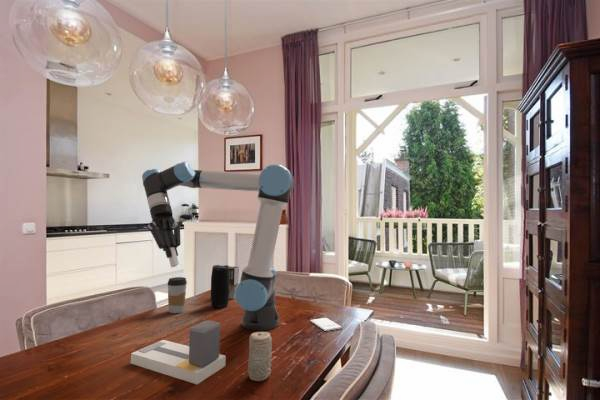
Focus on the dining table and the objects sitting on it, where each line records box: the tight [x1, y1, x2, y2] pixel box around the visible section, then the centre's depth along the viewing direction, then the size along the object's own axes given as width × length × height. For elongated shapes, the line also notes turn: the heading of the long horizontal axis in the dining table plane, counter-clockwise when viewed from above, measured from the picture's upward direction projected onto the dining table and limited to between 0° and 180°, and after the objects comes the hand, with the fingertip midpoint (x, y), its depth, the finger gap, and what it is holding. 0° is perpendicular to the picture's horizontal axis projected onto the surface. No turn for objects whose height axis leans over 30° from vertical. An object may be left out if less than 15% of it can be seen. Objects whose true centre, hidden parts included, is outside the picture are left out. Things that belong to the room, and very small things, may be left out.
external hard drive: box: [309, 317, 343, 332], centre depth 135 cm, size 2×8×12 cm
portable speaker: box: [210, 264, 230, 309], centre depth 160 cm, size 9×9×20 cm
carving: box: [247, 331, 273, 382], centre depth 92 cm, size 6×8×12 cm
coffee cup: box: [167, 276, 188, 315], centre depth 150 cm, size 8×8×15 cm
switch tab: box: [188, 319, 221, 367], centre depth 95 cm, size 5×7×10 cm
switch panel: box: [130, 339, 227, 385], centre depth 99 cm, size 26×12×3 cm, turn 65°
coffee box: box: [228, 265, 240, 300], centre depth 177 cm, size 9×6×16 cm
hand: (174, 265), depth 117 cm, fingers closed
